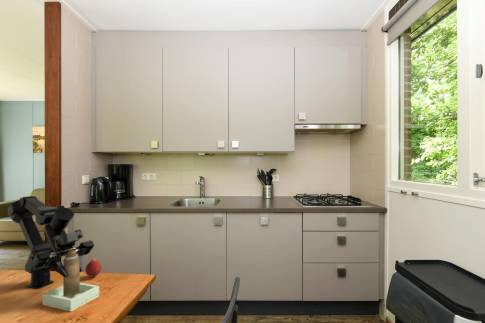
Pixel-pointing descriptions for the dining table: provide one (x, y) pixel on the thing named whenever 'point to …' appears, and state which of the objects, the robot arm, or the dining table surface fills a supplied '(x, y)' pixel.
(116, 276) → the dining table surface
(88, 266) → the pomegranate
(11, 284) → the dining table surface
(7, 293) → the dining table surface
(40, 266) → the robot arm
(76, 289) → the pepper mill
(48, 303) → the serving tray
